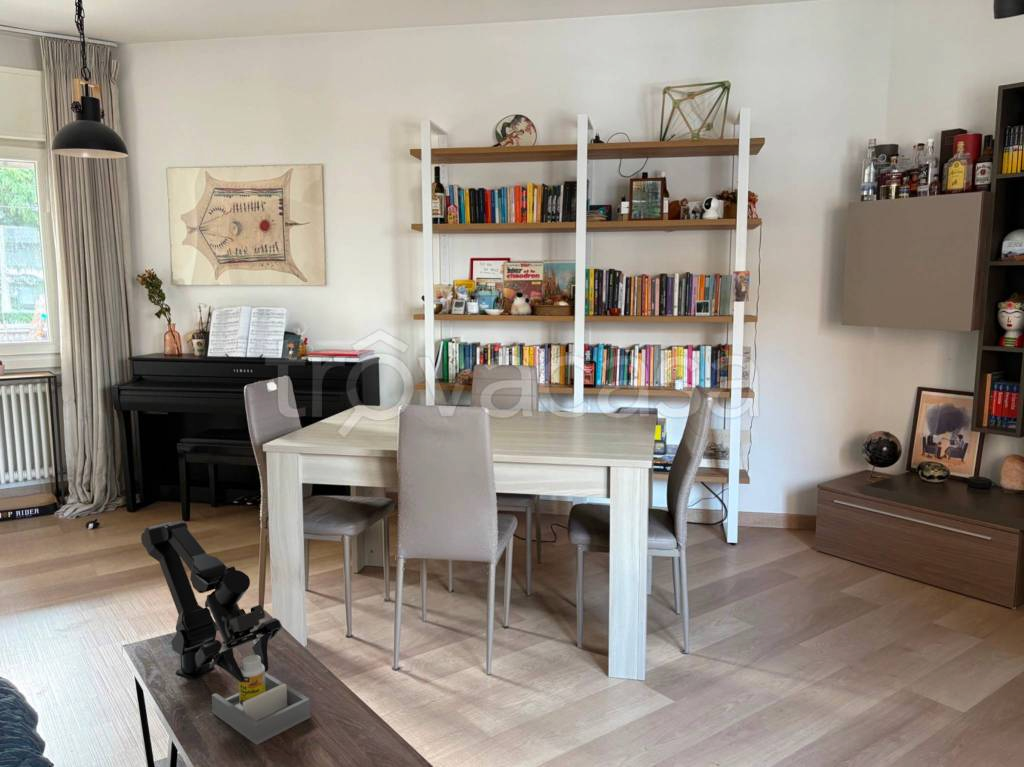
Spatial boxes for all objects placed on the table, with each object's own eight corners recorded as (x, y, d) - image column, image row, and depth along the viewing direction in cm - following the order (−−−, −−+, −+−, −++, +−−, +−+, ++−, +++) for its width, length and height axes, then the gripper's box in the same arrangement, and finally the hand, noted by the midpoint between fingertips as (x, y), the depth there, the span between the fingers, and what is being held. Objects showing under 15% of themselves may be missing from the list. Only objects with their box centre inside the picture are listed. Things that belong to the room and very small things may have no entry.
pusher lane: (212, 713, 165) (211, 694, 165) (265, 689, 175) (264, 671, 174) (256, 745, 154) (255, 725, 153) (310, 717, 163) (309, 699, 163)
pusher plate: (243, 724, 159) (242, 702, 159) (284, 704, 167) (283, 683, 166) (246, 725, 159) (245, 703, 158) (287, 705, 166) (286, 684, 166)
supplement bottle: (236, 709, 163) (234, 665, 162) (243, 695, 169) (242, 652, 167) (262, 708, 163) (260, 664, 162) (268, 694, 169) (267, 652, 168)
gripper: (198, 610, 158) (227, 677, 153) (276, 584, 172) (305, 644, 167) (182, 634, 165) (210, 699, 159) (259, 607, 179) (286, 665, 173)
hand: (255, 676), depth 164 cm, fingers closed on supplement bottle, 5 cm apart
